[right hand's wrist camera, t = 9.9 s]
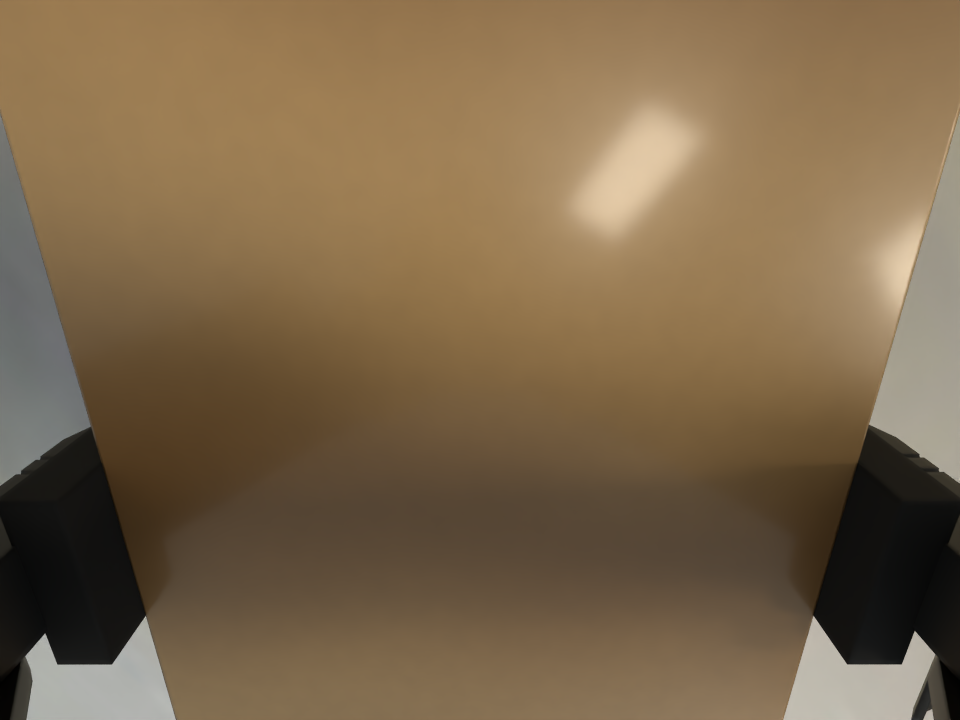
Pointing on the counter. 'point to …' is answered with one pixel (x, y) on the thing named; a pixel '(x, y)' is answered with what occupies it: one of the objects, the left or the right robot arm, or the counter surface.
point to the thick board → (479, 331)
